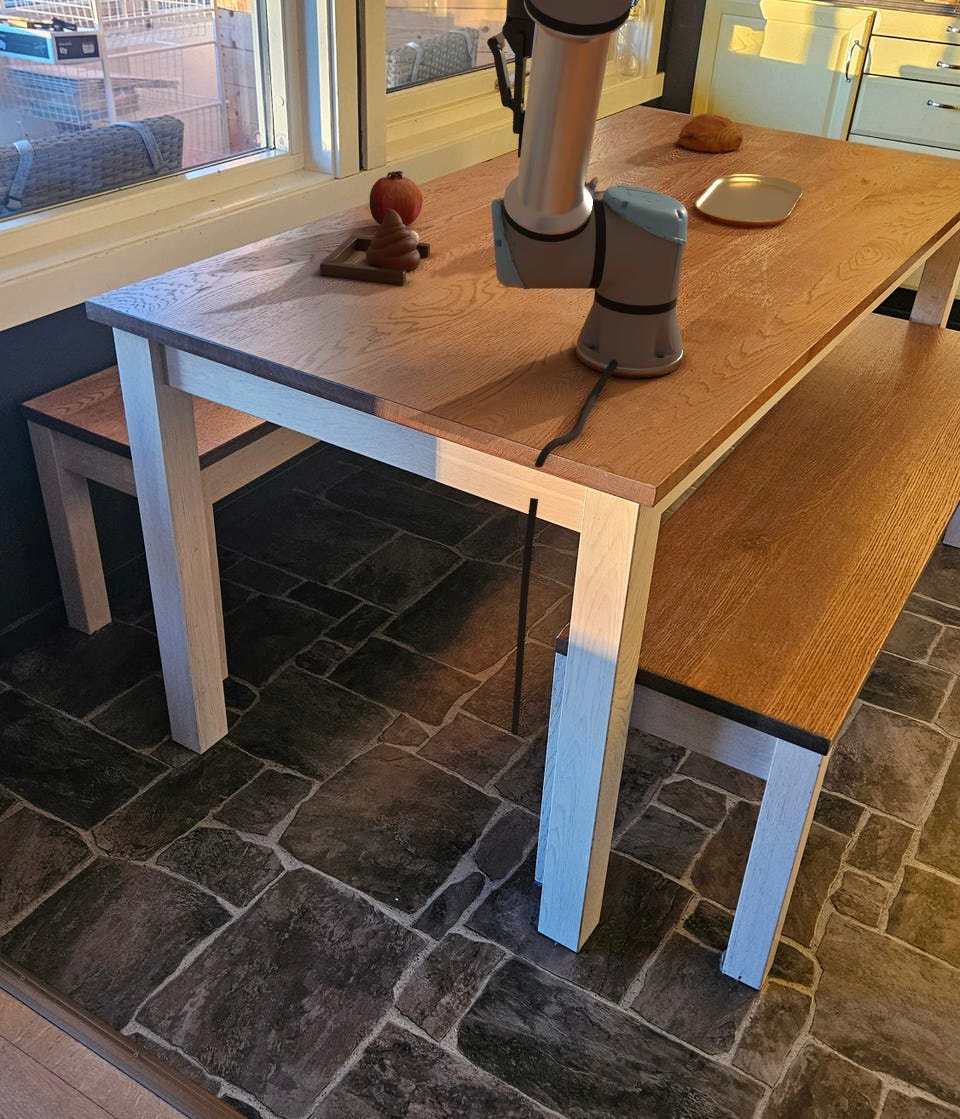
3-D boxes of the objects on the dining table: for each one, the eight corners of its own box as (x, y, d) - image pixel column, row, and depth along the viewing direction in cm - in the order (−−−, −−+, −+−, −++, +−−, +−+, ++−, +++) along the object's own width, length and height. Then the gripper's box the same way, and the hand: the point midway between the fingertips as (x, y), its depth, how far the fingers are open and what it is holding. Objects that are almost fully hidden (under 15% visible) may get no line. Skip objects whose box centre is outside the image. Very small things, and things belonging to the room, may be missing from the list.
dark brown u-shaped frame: (403, 285, 179) (403, 273, 177) (320, 275, 181) (319, 263, 180) (430, 254, 191) (430, 243, 190) (352, 245, 194) (351, 234, 193)
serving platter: (684, 220, 213) (685, 212, 212) (722, 177, 240) (723, 169, 239) (780, 234, 208) (781, 226, 207) (807, 189, 234) (809, 181, 233)
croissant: (701, 144, 272) (703, 110, 269) (751, 149, 262) (754, 113, 258) (662, 150, 265) (664, 115, 261) (712, 155, 254) (714, 118, 250)
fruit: (389, 214, 210) (389, 161, 204) (433, 224, 206) (433, 170, 200) (357, 228, 202) (355, 173, 196) (401, 239, 198) (401, 183, 192)
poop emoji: (355, 262, 187) (353, 208, 181) (389, 251, 192) (389, 198, 187) (397, 277, 182) (397, 221, 176) (431, 265, 187) (432, 210, 182)
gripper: (581, -13, 159) (569, 154, 172) (495, -19, 161) (489, 146, 175) (573, -7, 153) (560, 165, 166) (483, -13, 155) (478, 157, 169)
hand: (524, 155), depth 170 cm, fingers closed
